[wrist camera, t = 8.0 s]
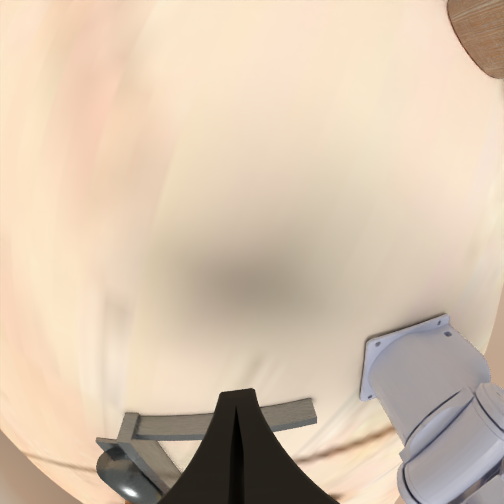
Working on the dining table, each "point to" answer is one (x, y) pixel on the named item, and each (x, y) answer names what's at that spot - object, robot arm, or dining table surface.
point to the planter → (481, 32)
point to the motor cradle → (155, 459)
